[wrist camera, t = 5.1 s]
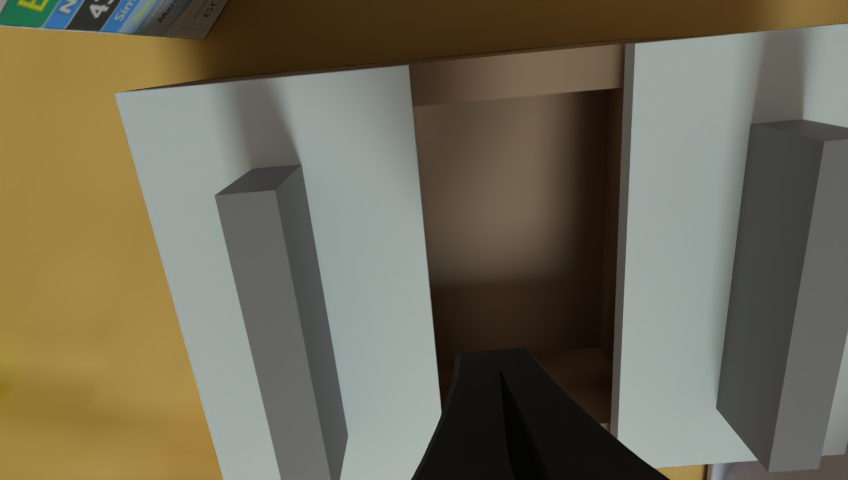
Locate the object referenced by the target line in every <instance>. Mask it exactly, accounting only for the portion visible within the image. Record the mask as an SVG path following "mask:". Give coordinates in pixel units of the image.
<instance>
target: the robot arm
mask: <svg viewBox="0 0 848 480" xmlns="http://www.w3.org/2000/svg"><path fill="white" fill-rule="evenodd" d="M411 480H670V479H668V478H667V477H666V476H664V475H663V474H661V473H660V472H659V471H657V470H656V469H655V468H653V467H652V466H650V465H649V464H648V463H646V462H645V461H643V460H642V459H641V458H640V457H638V456H637V455H636V454H635V453H633V452H632V451H631V450H630V449H628V448H627V447H626V446H625V445H624V444H623V443H621V442H620V441H619V440H618V439H617V438H616V437H614V436H613V435H612V434H611V433H610V432H608V431H607V430H606V429H605V428H604V427H603V426H602V425H601V424H600V423H598V422H597V421H596V420H595V419H594V418H593V417H592V416H591V415H590V414H589V413H588V412H587V411H586V410H585V409H584V408H583V407H581V406H580V405H579V404H578V403H577V402H576V401H575V400H574V399H573V398H572V397H571V396H570V395H569V394H568V393H567V392H566V391H565V390H564V389H563V388H562V387H561V386H560V385H559V384H558V383H557V381H556V380H555V379H554V378H553V377H552V376H551V375H550V374H549V373H548V372H547V371H546V370H545V369H544V367H543V366H542V365H541V364H540V363H539V362H538V361H537V359H536V358H535V357H534V356H533V355H532V354H531V352H529V351H528V350H527V349H526V348H525V347H524V348H511V349H498V350H486V351H473V352H460V353H459V354H458V356H457V357H456V358H455V368H454V374H453V379H452V383H451V387H450V390H449V394H448V397H447V400H446V402H445V405H444V408H443V411H442V414H441V416H440V419H439V422H438V424H437V427H436V429H435V431H434V434H433V436H432V438H431V440H430V442H429V444H428V447H427V449H426V451H425V453H424V455H423V458H422V460H421V462H420V464H419V465H418V467H417V469H416V471H415V473H414V475H413V477H412V479H411ZM707 480H848V442H847V446H846V450H845V454H841V455H827V456H821V460H820V465H819V469H810V470H796V471H782V472H767V471H766V469H765V468H764V467H763V466H762V464H761V463H760V462H759V461H744V462H730V463H716V464H708V473H707Z"/></svg>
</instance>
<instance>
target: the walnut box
mask: <svg viewBox="0 0 848 480" xmlns="http://www.w3.org/2000/svg"><path fill="white" fill-rule="evenodd" d="M710 36H711V35H710ZM693 37H704V36H686V37H663V38H639V39H624V40H614V41H603V42H593V43H582V44H572V45H561V46H551V47H540V48H530V49H519V50H509V51H498V52H488V53H477V54H467V55H456V56H446V57H435V58H425V59H414V60H404V61H394V62H383V63H373V64H362V65H352V66H341V67H331V68H320V69H310V70H299V71H289V72H278V73H268V74H257V75H247V76H236V77H226V78H215V79H206V80H199V81H192V82H185V83H178V84H172V85H165V86H158V87H151V88H145V89H138V90H146V89H157V88H167V87H178V86H188V85H199V84H209V83H220V82H230V81H241V80H251V79H262V78H273V77H283V76H294V75H304V74H315V73H325V72H336V71H346V70H357V69H367V68H378V67H388V66H399V65H409V72H410V82H411V93H412V103H413V114H414V124H415V135H416V145H417V156H418V166H419V177H420V188H421V198H422V209H423V219H424V230H425V240H426V251H427V261H428V272H429V282H430V293H431V304H432V314H433V325H434V335H435V346H436V356H437V367H438V377H439V388H440V398H441V409H442V411H443V408H444V405H445V402H446V400H447V397H448V394H449V390H450V387H451V383H452V379H453V374H454V368H455V358H456V357H457V356H458V354H459V353H460V352H473V351H486V350H498V349H511V348H524V347H525V348H526V349H527V350H528V351H529V352H531V354H532V355H533V356H534V357H535V358H536V359H537V361H538V362H539V363H540V364H541V365H542V366H543V367H544V369H545V370H546V371H547V372H548V373H549V374H550V375H551V376H552V377H553V378H554V379H555V380H556V381H557V383H558V384H559V385H560V386H561V387H562V388H563V389H564V390H565V391H566V392H567V393H568V394H569V395H570V396H571V397H572V398H573V399H574V400H575V401H576V402H577V403H578V404H579V405H580V406H581V407H583V408H584V409H585V410H586V411H587V412H588V413H589V414H590V415H591V416H592V417H593V418H594V419H595V420H596V421H597V422H598V423H600V424H601V425H602V426H603V427H604V428H605V429H606V430H607V431H608V432H610V429H611V404H612V378H613V352H614V327H615V301H616V275H617V249H618V224H619V198H620V172H621V146H622V121H623V95H624V69H625V44H630V43H641V42H651V41H662V40H672V39H683V38H693ZM131 91H136V90H131Z"/></svg>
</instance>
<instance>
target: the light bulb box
mask: <svg viewBox="0 0 848 480" xmlns="http://www.w3.org/2000/svg"><path fill="white" fill-rule="evenodd" d="M227 1H228V0H0V27H16V28H30V29H43V30H58V31H75V32H92V33H108V34H124V35H140V36H156V37H169V38H183V39H198V40H201V39H203V38H204V37H205V36H206V35H207V33H208V31H209V30H210V28H211V27H212V25H213V23H214V22H215V20H216V19H217V17H218V16H219V14H220V12H221V11H222V9H223V7H224V6H225V4H226V2H227Z"/></svg>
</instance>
